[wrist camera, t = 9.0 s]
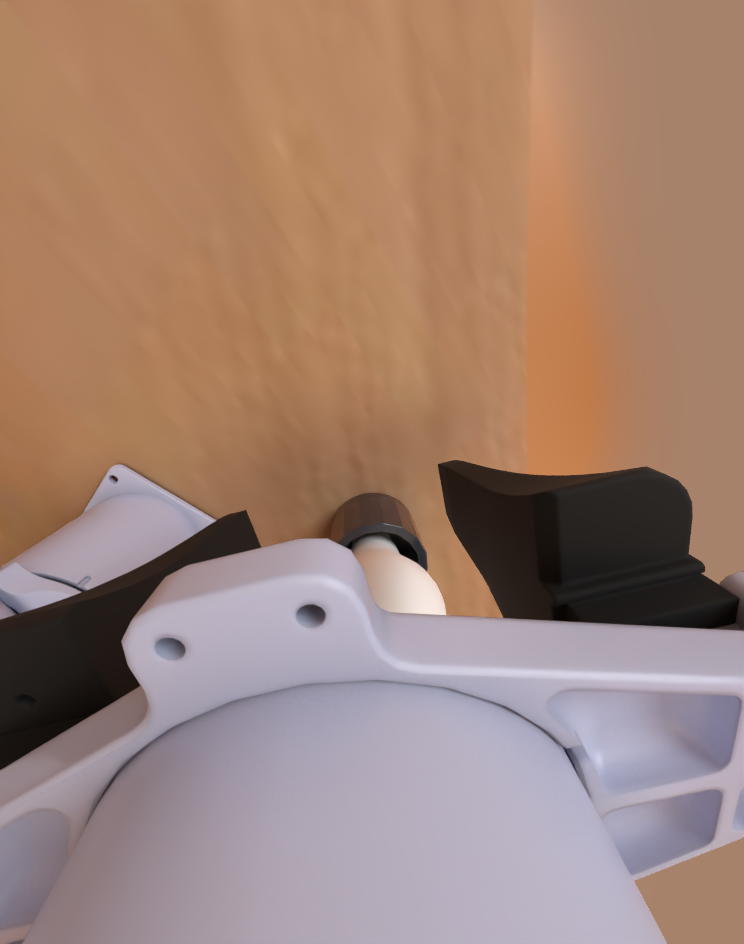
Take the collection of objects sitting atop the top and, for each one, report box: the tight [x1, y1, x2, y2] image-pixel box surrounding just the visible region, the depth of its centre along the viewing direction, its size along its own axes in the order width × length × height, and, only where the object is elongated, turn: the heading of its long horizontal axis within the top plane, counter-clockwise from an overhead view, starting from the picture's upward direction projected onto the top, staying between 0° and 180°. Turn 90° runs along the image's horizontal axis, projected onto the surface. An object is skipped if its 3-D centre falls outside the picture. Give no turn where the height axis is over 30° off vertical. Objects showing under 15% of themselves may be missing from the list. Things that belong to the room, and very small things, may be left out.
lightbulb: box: [350, 532, 446, 615], centre depth 19 cm, size 6×6×11 cm
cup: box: [329, 493, 428, 572], centre depth 23 cm, size 6×6×4 cm
